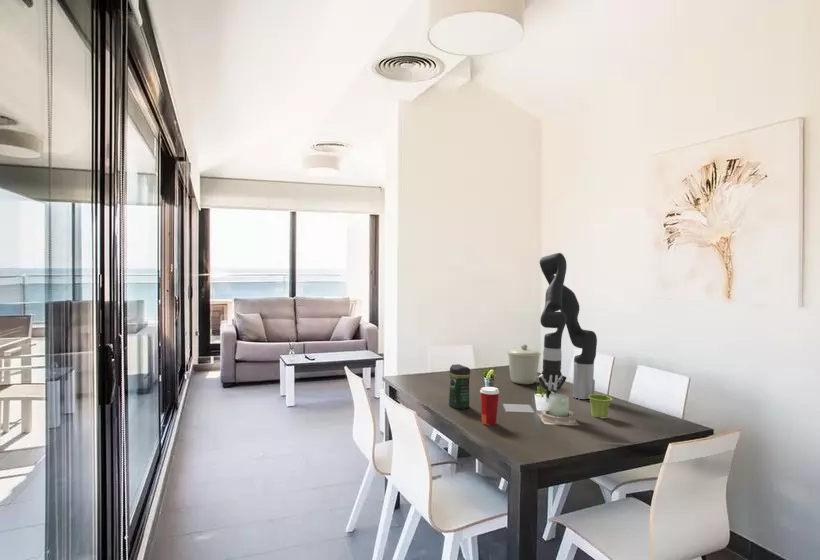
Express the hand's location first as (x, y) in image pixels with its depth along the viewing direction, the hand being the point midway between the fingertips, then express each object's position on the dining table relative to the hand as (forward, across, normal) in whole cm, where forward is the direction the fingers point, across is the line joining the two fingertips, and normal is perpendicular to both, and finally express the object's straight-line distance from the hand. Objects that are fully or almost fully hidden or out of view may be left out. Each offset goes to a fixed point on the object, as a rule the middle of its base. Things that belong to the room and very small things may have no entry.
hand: (550, 398), depth 213 cm
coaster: (+7, +10, -10) cm, 16 cm away
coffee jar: (+8, +35, -18) cm, 40 cm away
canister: (+7, -14, -59) cm, 61 cm away
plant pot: (+7, -20, +5) cm, 22 cm away
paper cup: (+8, +30, +7) cm, 32 cm away
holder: (+7, 0, +7) cm, 10 cm away
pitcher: (+6, 0, +5) cm, 8 cm away
